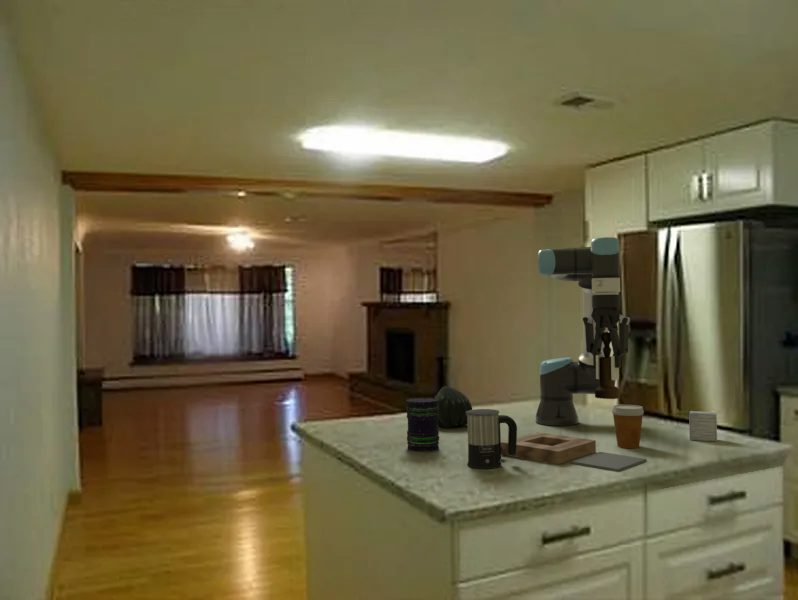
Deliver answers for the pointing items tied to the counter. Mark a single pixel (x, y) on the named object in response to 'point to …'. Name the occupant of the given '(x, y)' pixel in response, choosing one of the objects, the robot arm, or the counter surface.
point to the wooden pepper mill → (606, 373)
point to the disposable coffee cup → (628, 425)
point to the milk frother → (488, 438)
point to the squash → (452, 407)
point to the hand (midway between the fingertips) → (607, 379)
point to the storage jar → (422, 424)
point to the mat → (608, 461)
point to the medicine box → (703, 426)
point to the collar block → (550, 447)
